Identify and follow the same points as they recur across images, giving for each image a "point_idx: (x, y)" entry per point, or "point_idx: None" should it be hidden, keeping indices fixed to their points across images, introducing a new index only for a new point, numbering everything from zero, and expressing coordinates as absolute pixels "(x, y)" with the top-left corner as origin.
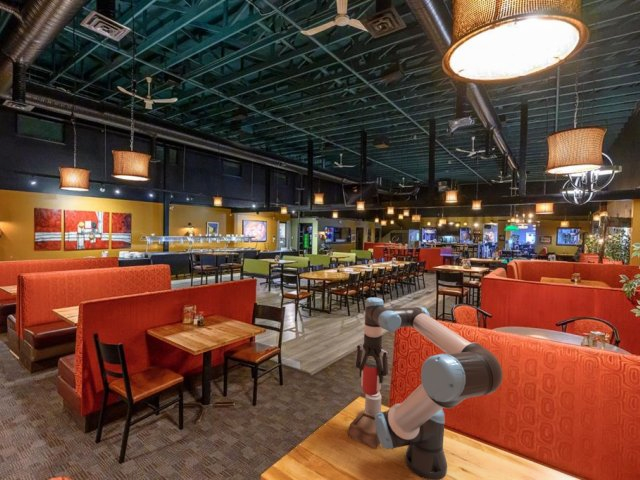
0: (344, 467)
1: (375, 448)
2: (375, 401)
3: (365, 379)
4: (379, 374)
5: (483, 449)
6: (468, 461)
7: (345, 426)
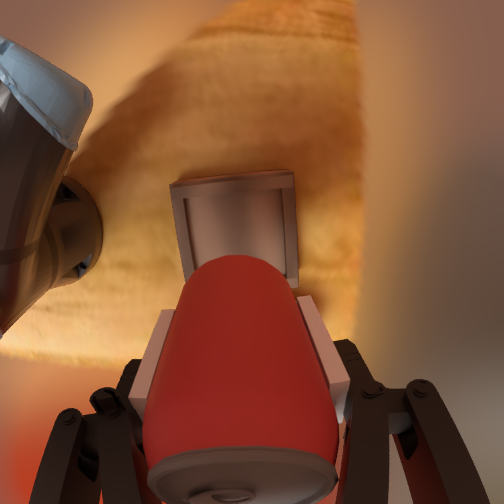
0: (213, 46)
1: (180, 180)
2: None
3: (258, 311)
4: (120, 414)
5: (33, 355)
6: None
7: (323, 209)
